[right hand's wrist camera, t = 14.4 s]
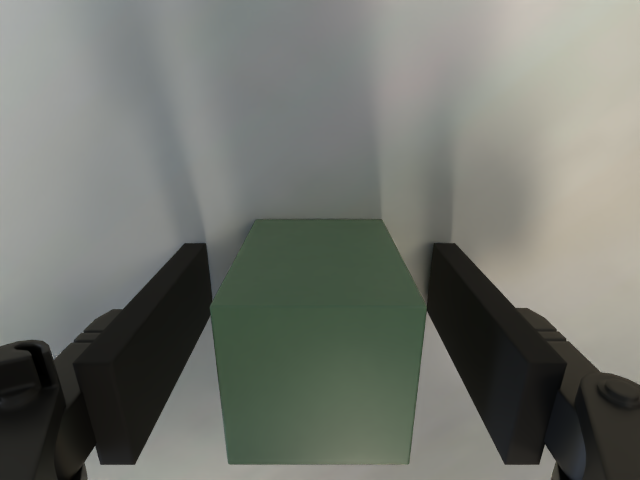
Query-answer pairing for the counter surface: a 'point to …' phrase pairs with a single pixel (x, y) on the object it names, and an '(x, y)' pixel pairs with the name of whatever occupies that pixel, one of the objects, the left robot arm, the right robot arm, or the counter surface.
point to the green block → (318, 345)
